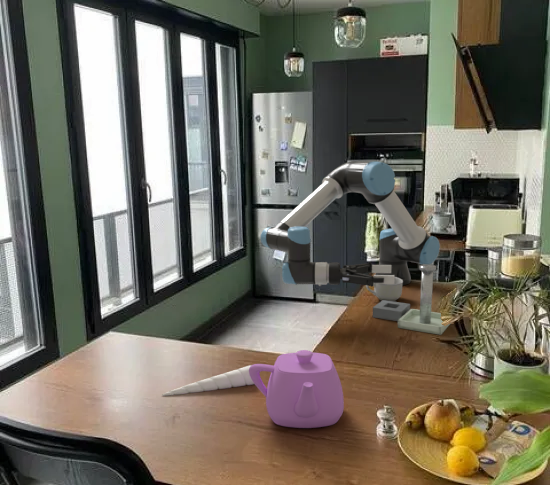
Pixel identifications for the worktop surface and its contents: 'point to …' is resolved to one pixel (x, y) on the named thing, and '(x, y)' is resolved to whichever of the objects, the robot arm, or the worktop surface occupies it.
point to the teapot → (301, 390)
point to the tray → (412, 323)
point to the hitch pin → (426, 292)
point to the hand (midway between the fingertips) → (392, 274)
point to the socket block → (390, 310)
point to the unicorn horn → (217, 382)
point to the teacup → (388, 290)
